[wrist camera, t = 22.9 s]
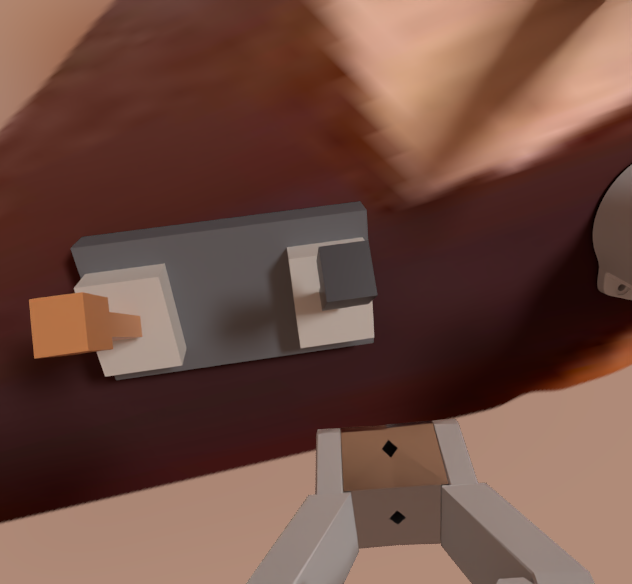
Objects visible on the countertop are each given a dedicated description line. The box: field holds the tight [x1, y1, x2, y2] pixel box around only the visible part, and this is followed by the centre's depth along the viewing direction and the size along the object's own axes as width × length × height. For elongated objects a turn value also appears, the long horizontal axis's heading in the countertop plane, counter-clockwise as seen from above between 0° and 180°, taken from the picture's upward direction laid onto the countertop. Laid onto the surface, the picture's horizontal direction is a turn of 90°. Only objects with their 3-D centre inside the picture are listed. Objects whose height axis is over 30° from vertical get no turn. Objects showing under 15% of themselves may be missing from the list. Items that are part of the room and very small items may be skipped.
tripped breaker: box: [29, 292, 142, 359], centre depth 35 cm, size 3×4×12 cm
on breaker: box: [316, 240, 377, 311], centre depth 36 cm, size 3×4×12 cm
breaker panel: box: [70, 201, 374, 380], centre depth 45 cm, size 26×14×6 cm, turn 96°
